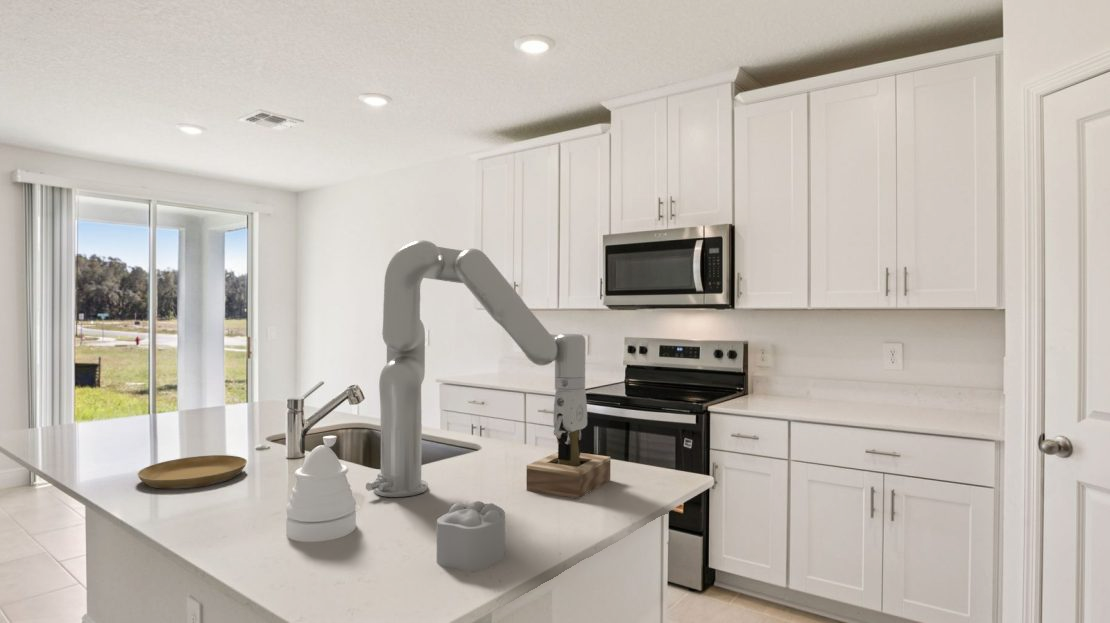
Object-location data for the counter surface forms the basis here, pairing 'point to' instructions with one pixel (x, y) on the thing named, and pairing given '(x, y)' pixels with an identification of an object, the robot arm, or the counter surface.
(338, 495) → the honey pot
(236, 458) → the plant saucer
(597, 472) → the drop box
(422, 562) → the counter surface
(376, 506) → the counter surface
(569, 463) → the cork
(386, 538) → the counter surface
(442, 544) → the lumpy-topped squat cylinder
